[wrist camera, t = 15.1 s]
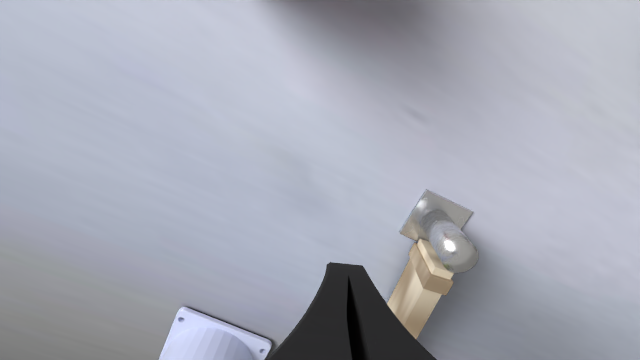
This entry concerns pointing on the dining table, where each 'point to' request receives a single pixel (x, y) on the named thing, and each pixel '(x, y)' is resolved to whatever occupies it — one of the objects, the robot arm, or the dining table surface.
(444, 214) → the chrome post on plate
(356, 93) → the dining table surface
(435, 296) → the wooden capped beam
